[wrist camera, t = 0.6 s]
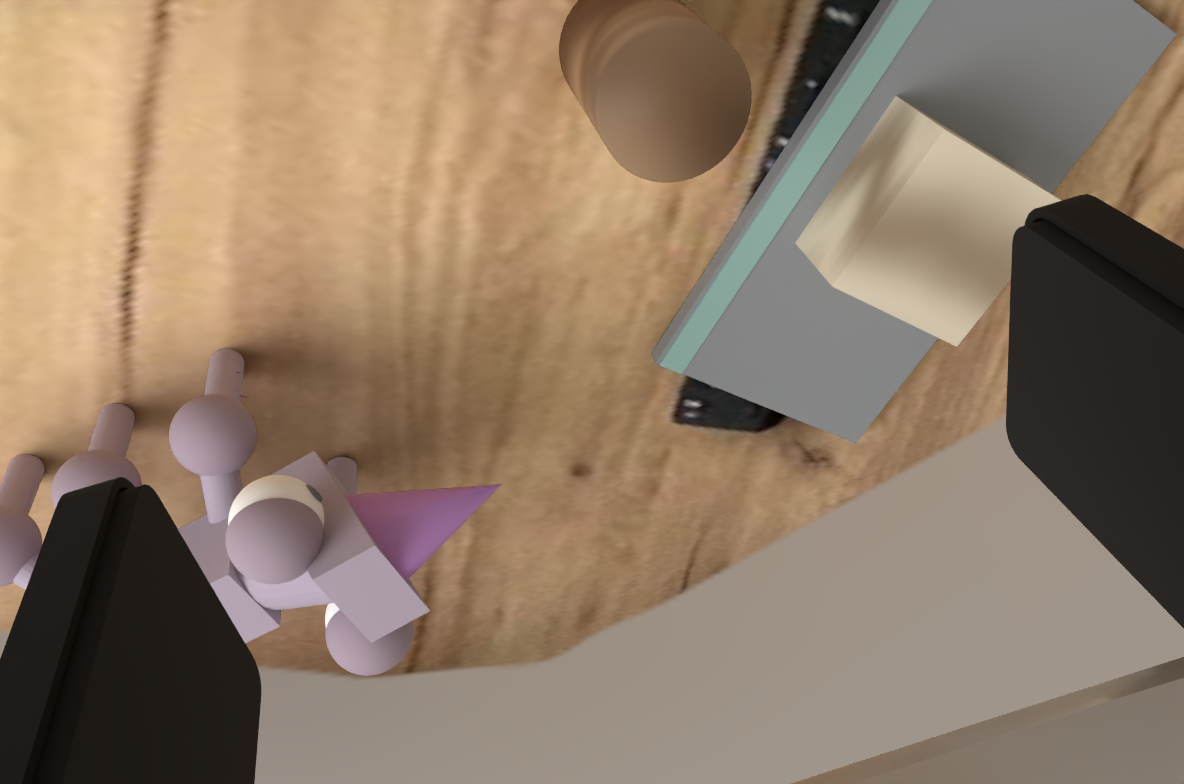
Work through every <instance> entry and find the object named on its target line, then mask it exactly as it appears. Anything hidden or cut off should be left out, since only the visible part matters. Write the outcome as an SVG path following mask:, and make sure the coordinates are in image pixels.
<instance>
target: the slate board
mask: <svg viewBox="0 0 1184 784" xmlns="http://www.w3.org/2000/svg"><path fill="white" fill-rule="evenodd" d="M1176 35H1177V34H1176V33H1175V32H1173V31H1172V30H1171V29H1169V28H1168V27H1167V26H1165V25H1164V24H1163V23H1162V22H1160V21H1159V20H1158V19H1156V18H1155V17H1154V16H1153V15H1151V14H1150V13H1149V12H1147V11H1146V10H1145V9H1144V8H1142V7H1141V6H1140V5H1138V4H1137V3H1136V2H1134V1H1133V0H880V1H879V3H878V4H877V6H876V7H875V9H874V11H873V12H872V14H871V15H870V17H869V18H868V20H867V21H866V23H865V24H864V26H863V27H862V29H861V31H860V32H859V34H858V35H857V37H856V38H855V40H854V41H853V43H852V44H851V46H850V48H849V49H848V51H847V52H846V54H845V55H844V57H843V58H842V60H841V61H840V63H839V64H838V66H837V68H836V69H835V71H834V72H833V74H832V75H831V77H830V78H829V80H828V81H827V83H826V85H825V86H824V88H823V89H822V91H821V92H820V94H819V95H818V97H817V98H816V100H815V101H814V103H813V105H812V106H811V108H810V109H809V111H808V112H807V114H806V115H805V117H804V118H803V120H802V122H801V123H800V125H799V126H798V128H797V129H796V131H795V132H794V134H793V135H792V137H791V138H790V140H789V142H788V143H787V145H786V146H785V148H784V149H783V151H782V152H781V154H780V155H779V157H778V159H777V160H776V162H775V163H774V165H773V166H772V168H771V169H770V171H769V172H768V174H767V175H766V177H765V179H764V180H763V182H762V183H761V185H760V186H759V188H758V189H757V191H756V192H755V194H754V196H753V197H752V199H751V200H750V202H749V203H748V205H747V206H746V208H745V209H744V211H743V212H742V214H741V216H740V217H739V219H738V220H737V222H736V223H735V225H734V226H733V228H732V229H731V231H730V233H729V234H728V236H727V237H726V239H725V240H724V242H723V243H722V245H721V246H720V248H719V249H718V251H717V253H716V254H715V256H714V257H713V259H712V260H711V262H710V263H709V265H708V266H707V268H706V270H705V271H704V273H703V274H702V276H701V277H700V279H699V280H698V282H697V283H696V285H695V286H694V288H693V290H692V291H691V293H690V294H689V296H688V297H687V299H686V300H685V302H684V303H683V305H682V307H681V308H680V310H679V311H678V313H677V314H676V316H675V317H674V319H673V320H672V322H671V323H670V325H669V327H668V328H667V330H666V331H665V333H664V334H663V336H662V337H661V339H660V340H659V342H658V343H657V345H656V347H655V348H654V350H653V351H652V353H651V355H652V357H653V359H654V361H655V363H657V364H659V365H660V366H662V367H664V368H667V369H669V370H672V371H674V372H677V373H679V374H684V375H687V376H689V377H692V378H694V379H697V380H699V381H702V382H704V383H707V384H709V385H712V386H714V387H717V388H719V389H722V390H724V391H727V392H729V393H732V394H734V395H737V396H739V397H742V398H744V399H746V400H749V401H751V402H754V403H756V404H759V405H761V406H764V407H766V408H769V409H771V410H774V411H776V412H779V413H781V414H784V415H786V416H789V417H791V418H794V419H796V420H799V421H801V422H804V423H806V424H809V425H811V426H814V427H816V428H819V429H821V430H824V431H826V432H829V433H831V434H834V435H836V436H839V437H841V438H844V439H846V440H849V441H851V442H854V443H856V442H857V441H858V440H859V438H860V437H861V436H862V434H863V433H864V432H865V431H866V429H867V428H868V427H869V426H870V424H871V423H872V422H873V420H874V419H875V418H876V417H877V415H878V414H879V413H880V412H881V410H882V409H883V408H884V406H885V405H886V404H887V403H888V401H889V400H890V399H891V398H892V396H893V395H894V394H895V392H896V391H897V390H898V389H899V387H900V386H901V385H902V384H903V382H904V381H905V380H906V378H907V377H908V376H909V375H910V373H911V372H912V371H913V370H914V368H915V367H916V366H917V364H918V363H919V362H920V361H921V359H922V358H923V357H924V356H925V354H926V353H927V352H928V350H929V349H930V348H931V347H932V345H933V344H934V343H935V342H936V340H937V339H938V337H935V336H933V335H931V334H929V333H927V332H925V331H923V330H921V329H919V328H917V327H915V326H913V325H911V324H909V323H907V322H905V321H902V320H900V319H898V318H896V317H894V316H892V315H890V314H888V313H886V312H884V311H882V310H880V309H878V308H876V307H874V306H871V305H869V304H867V303H865V302H863V301H861V300H859V299H857V298H855V297H853V296H851V295H849V294H847V293H845V292H843V291H840V290H838V289H836V288H834V287H832V286H831V284H830V283H829V282H828V281H827V280H826V279H825V277H824V276H823V275H822V274H821V273H820V272H819V270H818V269H817V268H816V267H815V266H814V265H813V263H812V262H811V261H810V260H809V259H808V258H807V256H806V255H805V254H804V253H803V252H802V251H801V249H800V248H799V247H798V246H797V245H796V244H795V242H796V241H797V239H798V238H799V237H800V235H801V234H802V232H803V231H804V229H805V228H806V226H807V225H808V223H809V222H810V220H811V219H812V218H813V216H814V215H815V213H816V212H817V210H818V209H819V207H820V206H821V204H822V203H823V201H824V200H825V198H826V197H827V196H828V194H829V193H830V191H831V190H832V188H833V187H834V185H835V184H836V182H837V181H838V179H839V178H840V177H841V175H842V174H843V172H844V171H845V169H846V168H847V166H848V165H849V163H850V162H851V160H852V159H853V157H854V156H855V155H856V153H857V152H858V150H859V149H860V147H861V146H862V144H863V143H864V141H865V140H866V138H867V137H868V136H869V134H870V133H871V131H872V130H873V128H874V127H875V125H876V124H877V122H878V121H879V119H880V118H881V116H882V115H883V114H884V112H885V111H886V109H887V108H888V106H889V105H890V103H891V102H892V100H893V99H894V97H895V96H897V97H899V98H900V99H902V100H904V101H905V102H907V103H909V104H910V105H912V106H913V107H915V108H917V109H918V110H920V111H922V112H923V113H925V114H927V115H928V116H930V117H931V118H933V119H935V120H936V121H938V122H940V123H941V124H943V125H944V126H946V127H948V128H949V129H951V130H953V131H954V132H956V133H958V134H959V135H961V136H962V137H964V138H966V139H967V140H969V141H971V142H972V143H974V144H976V145H977V146H979V147H980V148H982V149H984V150H985V151H987V152H989V153H990V154H992V155H993V156H995V157H997V158H998V159H1000V160H1002V161H1003V162H1005V163H1007V164H1008V165H1010V166H1011V167H1013V168H1015V169H1016V170H1018V171H1019V172H1021V173H1022V174H1024V175H1025V176H1027V177H1028V178H1029V179H1031V180H1032V181H1034V182H1035V183H1037V184H1038V185H1040V186H1041V187H1043V188H1044V189H1046V190H1047V191H1049V192H1050V193H1053V191H1054V190H1055V189H1056V187H1057V186H1058V185H1059V184H1060V182H1061V181H1062V180H1063V179H1064V177H1065V176H1066V175H1067V173H1068V172H1069V171H1070V170H1071V168H1072V167H1073V166H1074V165H1075V163H1076V162H1077V161H1078V159H1079V158H1080V157H1081V156H1082V154H1083V153H1084V152H1085V151H1086V149H1087V148H1088V147H1089V145H1090V144H1091V143H1092V142H1093V140H1094V139H1095V138H1096V137H1097V135H1098V134H1099V133H1100V131H1101V130H1102V129H1103V128H1104V126H1105V125H1106V124H1107V123H1108V121H1109V120H1110V119H1111V117H1112V116H1113V115H1114V114H1115V112H1116V111H1117V110H1118V108H1119V107H1120V106H1121V105H1122V103H1123V102H1124V101H1125V100H1126V98H1127V97H1128V96H1129V94H1130V93H1131V92H1132V91H1133V89H1134V88H1135V87H1136V86H1137V84H1138V83H1139V82H1140V80H1141V79H1142V78H1143V77H1144V75H1145V74H1146V73H1147V72H1148V70H1149V69H1150V68H1151V66H1152V65H1153V64H1154V63H1155V61H1156V60H1157V59H1158V58H1159V56H1160V55H1161V54H1162V52H1163V51H1164V50H1165V49H1166V47H1167V46H1168V45H1169V44H1170V42H1171V41H1172V40H1173V38H1174V37H1175V36H1176Z"/></svg>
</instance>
